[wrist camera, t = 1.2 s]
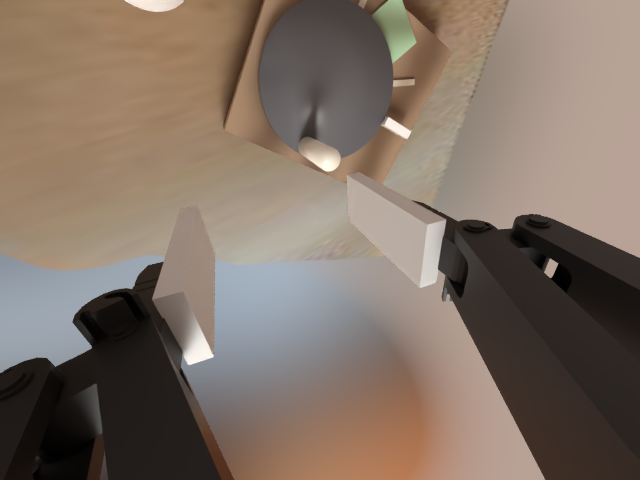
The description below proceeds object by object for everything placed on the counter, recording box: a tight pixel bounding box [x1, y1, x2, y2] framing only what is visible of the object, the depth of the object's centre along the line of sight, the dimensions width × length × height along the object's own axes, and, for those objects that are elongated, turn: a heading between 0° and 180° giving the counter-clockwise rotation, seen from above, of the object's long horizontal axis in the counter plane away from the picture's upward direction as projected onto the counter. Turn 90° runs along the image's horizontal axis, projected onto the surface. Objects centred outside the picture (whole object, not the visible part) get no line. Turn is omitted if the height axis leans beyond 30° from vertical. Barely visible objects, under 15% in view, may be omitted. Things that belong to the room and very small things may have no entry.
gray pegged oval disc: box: [258, 0, 411, 172], centre depth 25 cm, size 18×14×8 cm
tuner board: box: [223, 0, 452, 184], centre depth 30 cm, size 20×18×4 cm
